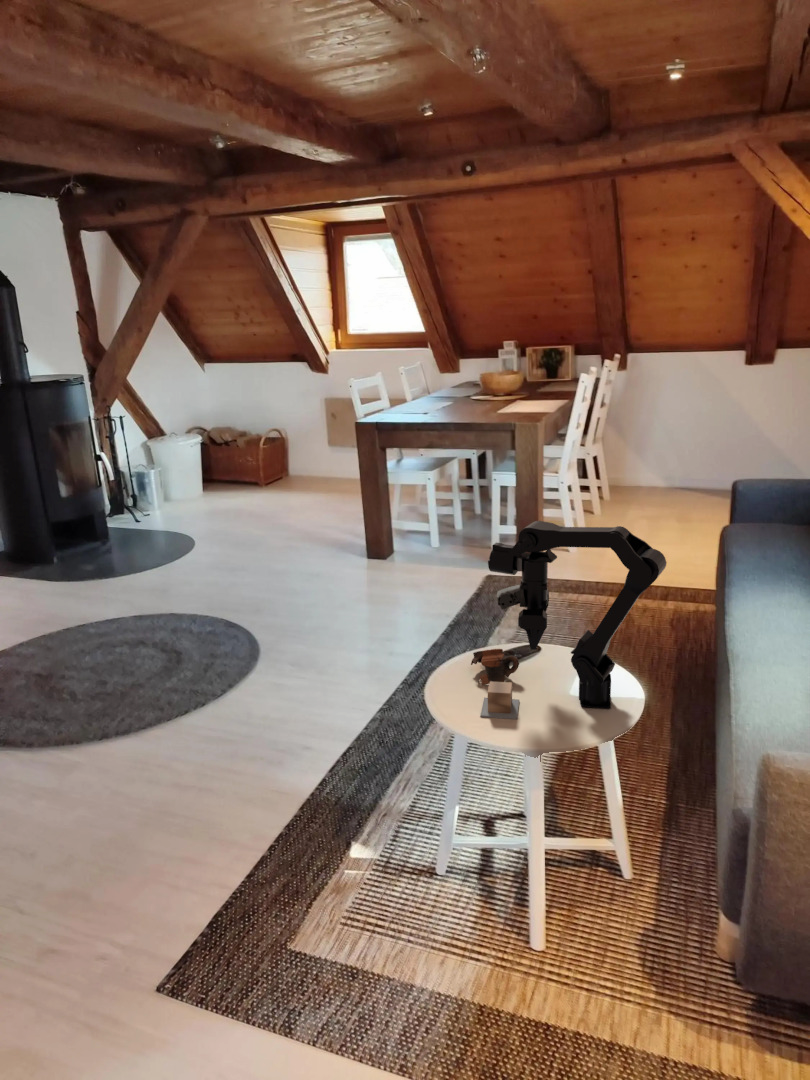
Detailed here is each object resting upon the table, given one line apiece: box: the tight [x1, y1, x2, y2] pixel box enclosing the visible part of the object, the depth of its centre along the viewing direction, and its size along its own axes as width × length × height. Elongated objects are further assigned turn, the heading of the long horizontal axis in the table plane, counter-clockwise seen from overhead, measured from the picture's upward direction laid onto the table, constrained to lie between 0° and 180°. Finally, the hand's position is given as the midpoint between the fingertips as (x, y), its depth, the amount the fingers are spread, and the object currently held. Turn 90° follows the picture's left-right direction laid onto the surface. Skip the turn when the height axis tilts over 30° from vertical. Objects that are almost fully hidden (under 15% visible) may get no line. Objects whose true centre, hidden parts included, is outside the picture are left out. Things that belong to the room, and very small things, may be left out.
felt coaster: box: [480, 696, 520, 720], centre depth 174 cm, size 8×8×1 cm
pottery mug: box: [470, 648, 520, 685], centre depth 188 cm, size 12×10×8 cm
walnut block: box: [487, 681, 513, 714], centre depth 173 cm, size 5×5×5 cm
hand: (534, 640), depth 179 cm, fingers open, 9 cm apart
